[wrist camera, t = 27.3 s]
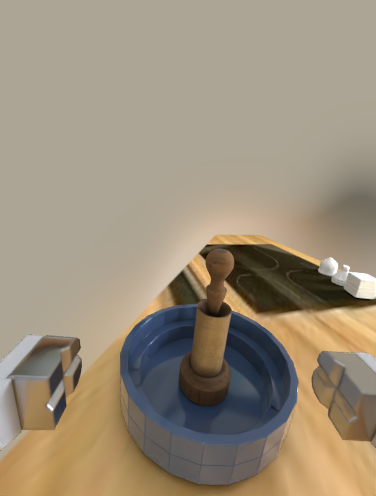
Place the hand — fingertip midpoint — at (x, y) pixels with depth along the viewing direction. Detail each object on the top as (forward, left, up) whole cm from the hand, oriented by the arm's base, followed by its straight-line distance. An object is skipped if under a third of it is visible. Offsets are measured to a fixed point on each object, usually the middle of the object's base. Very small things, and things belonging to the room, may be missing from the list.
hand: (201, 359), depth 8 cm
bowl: (+4, +16, -20) cm, 26 cm away
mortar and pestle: (+4, +16, -19) cm, 25 cm away
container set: (+49, +53, -20) cm, 75 cm away
